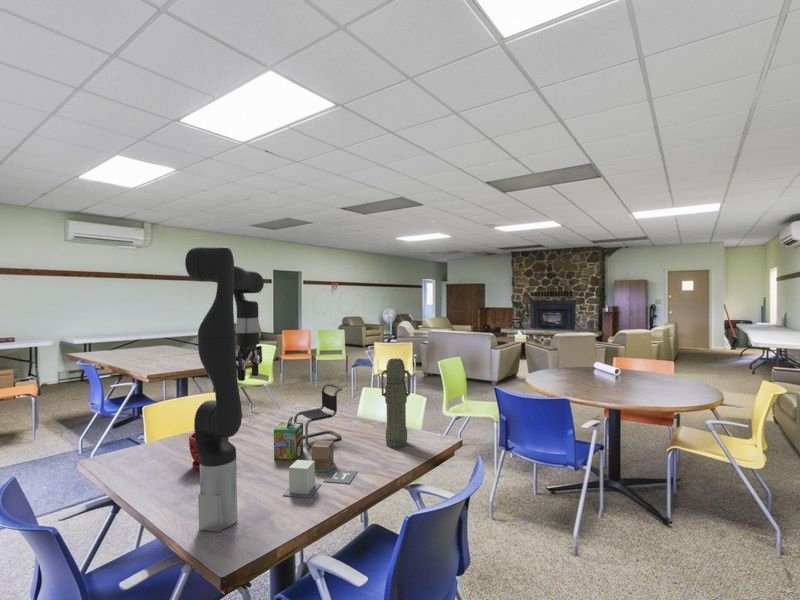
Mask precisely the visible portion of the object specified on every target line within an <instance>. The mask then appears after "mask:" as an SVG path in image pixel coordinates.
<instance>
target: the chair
mask: <svg viewBox="0 0 800 600" xmlns="http://www.w3.org/2000/svg"><path fill="white" fill-rule="evenodd" d="M327 387H332V388H334V389H336V390H335V391H334V392H333V395H331V394H328V393H326V392H325V389H326V388H327ZM341 391H343V388H342V387H341V386H338V385H335V384H334V383H333V384H332V383H325V384H324V385H323V386H322V388H321V406H320V407H319V408H314V409H308V410H304V411H299V412H297V413H296V414H295V415H294V416H293V417H294V419H293V423H298V421H297V419H298V417H299V416H304V417H305V418H307V419H308V420H307V421H306V422H305V425H304V427H305V428H304V429H305V430H304V432H305V433H304V434H305V435H304V434H303V439H305V445H306V446H307V447H309V448H312V447H311V446H312V445H313V444H314V443H310V442H309V438H310V437H311V438H312V437H314V436H319V435H324V434H333V435H334V436H335V438H332V439H327V440H326V441H333V443H334V442H337V441H340V440H341V439H342V436H341V435H340V434H338V433H337V432H335V431H333V430H330V429H329V430H323V431H317V432H314V433H310V434H309V424H310V423H311V422H315V421H321V420H325V419H330V418H333V417H334V416H335V415H336V414H337V411H338V405H337V404H338V402H337V401H338V398H337V397H338V396H337V394H338V393H339V392H341ZM324 408H326V409H327V410H330V411H333V413H332V414H330V413H327V412H325V411H324Z"/></svg>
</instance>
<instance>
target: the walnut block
mask: <svg viewBox="0 0 800 600" xmlns="http://www.w3.org/2000/svg"><path fill="white" fill-rule="evenodd" d="M312 444H313V445H312V446H311V447H310V448H311V461H315V469H323V470H328V469H329V468H330V467H331V466H332V464H333V463H335V462H334V461H335V459H334V456H335V455H334V453H335V452H334V451H335V450H334V442H333V441H327V440H322V439H321V440H319V439H317V441H315V442H314V443H312Z"/></svg>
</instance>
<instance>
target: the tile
mask: <svg viewBox="0 0 800 600" xmlns="http://www.w3.org/2000/svg"><path fill="white" fill-rule="evenodd" d="M357 474H358V471H355V470H341V469H332V470H330V471H329V474H328V475H327V476H326V477H325V478H324V480H323V481H322V482H323V483H330V484H331V483H333V484H343V485H344V484H345V485H349V484H351V482H352V481H353V479H354V478H355V476H356V475H357Z"/></svg>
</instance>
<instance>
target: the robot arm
mask: <svg viewBox="0 0 800 600" xmlns="http://www.w3.org/2000/svg"><path fill="white" fill-rule="evenodd" d="M184 262H185V263H184V264H185V265H184V266H185V270H186V273H187V275H189V277H190V278H191V279H193V280H194V281H198V282H213V283H217V284H216V285H217V286H216V293H215V296H214V297H215V298H214V301H213V303H212V305H211V306H210V308H209V309H208V311H207V313H206V315H205V316H204V318H203V320H202V322H201V323H200V326H198V331H197V344H198V345H197V347H198V348H197V349H198V356H199V360H200V362H201V364H202V366H203V368H204V370H205V372H206V373H207V375H208V377H209V379H210V381H211V383H212V385H213V388H214V389H213V390H214V392H215V393H214V395H215V399H213V400H212V399H210V400H209V399H208V400H205V401H204V402H202V403H201V404H200V405H199V407H198V408H197V410H196V412H195V415H194V423H193V425H194V429H193V430H194V433H195V443H196V451H197V454H198V456H199V459H200V470H199V489H200V490H199V494H198V495H197V498H198V499H197V501H198V502H197V505H198V506H197V507H198V531H207V532H217V533H220V532H221V531H223V530H225V529H227V528H229V527H230V528H231V526H233V525H235V523H236V522H238V521H237V520H238V517H239V516H238V483H237V481H238V480H237V478H238V476H237V475H238V474H237V473H238V472H237V448H236V446H235V445H234V444H232V443H231V442H230V441H229V439H228V440H227V439H226V438H227V437H228V438H232V437H233V436H235V435H236V434H237V433H238V431H239V430H240V429H241V425H242V420H243V412H242V411H243V409H242V402H241V396H240V390H239V382H244V381H245V380H246V366H247V364H249V362H250V363H251V376H253V377H257V376H259V365H261V363H262V362H263V349H262V348H263V346H262V345H259V344H260V320H259V303H258V301H256V300H253V299H248V298H247V297H246V296H245V294H258V293H260V292H261V291H262V290H263V288H264V284H265V282H264V281H265V280H264V278H263V276H262V275H261V274H260V273H259V272H256V271H253V270H247V269H244V268H242V267H241V266H239V265H236V264H235V260H234V255H233V251H232V250H231V249H230V248H229V247H228V246H197V247H194V248H191V249H189V250H188V251H187V253H186V255H185V261H184ZM234 301H235V306H236V323H235V313H234ZM236 346H239V350H238V349H236V348H237V347H236Z"/></svg>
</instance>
